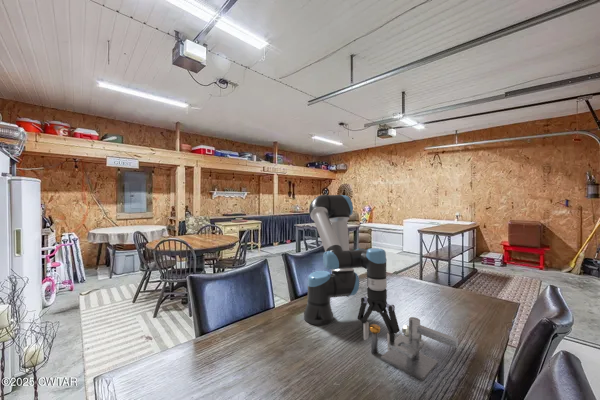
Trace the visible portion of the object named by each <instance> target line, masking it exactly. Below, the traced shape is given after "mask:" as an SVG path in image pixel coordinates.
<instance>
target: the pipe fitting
mask: <svg viewBox="0 0 600 400" xmlns="http://www.w3.org/2000/svg"><path fill="white" fill-rule="evenodd" d="M402 333H404V336H406V337H408V338H409V325H406V324H404V325H403V326H402ZM422 337H423V335H421V334H420V341H421V340H422Z"/></svg>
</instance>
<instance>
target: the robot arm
mask: <svg viewBox="0 0 600 400" xmlns="http://www.w3.org/2000/svg"><path fill="white" fill-rule="evenodd" d="M308 212H309V216H310V218H311V220H312V221H313V222H314V224H315V227H316V231H317V233H318V236H319V237H320V240H321V241H320V242H321V243H322V246H323V250H324V252H323V254H322V255H323V256H322V263H323V266H324V269H326V270H317V271H313V272H311V273H310V274H308V276H307V303H306V306H305V308H304V309H305V310H304V313H303V320H304V321H306V323H308V324H311V325H315V326H326V325H329V324H330V323H332V322H333V321H334V312H333V311H332V310H333V309H332V306H331V299H332V298H340V297H346V298H347V297H348V298H349V297H352V296H355V295H356V294H357V293H358V291H359V289H360V279H359V275H358V273H357V272H355V269H359V268H364V270H366V286H367V289H366V292H367V293H366V296H367V297H366V296H363V297H361V298H360V307H359V311H358V315H357V319H358V321H361V330H362V331H363V340H364V341H366V340H368V339H369V338H370V330H369V327H370V323H369V321H368V320H369V317H370V316H371V314H372V312H377V313H378V314H379V315H380V316H381V318H382V320H383V321H384V323H385V325H386V328H387V331H388V332H386V335H387V337H386V338H387V339H386V340H387V341H386V342H387V345H386V346H387V351H390V350H391V348H389V347H388V344H389V343H390V342H393V341H394V340H395V338H396V334H397V333H399V332H400V326H399V323H398V320H397V316H396V310H395V305H394V304H389V303H388V302H387V299H388V298H387V297H388V291H387V287H388V286H387V254H386V250H385V249H383V248H378V247H377V248H375V247H373V248H372V247H371V248H368V249H365V248H356V249H354V250H350V240H349V239H350V238H349V230H348V229H349V228H348V221H349V220H350V219H351V218H350V217H351V216H352V215H353V212H354V205H353V201H352V199H351V197H349V196H348V195H343V194H320V195H318V196H316V197H315V198H313V200H312V201H311V203H310V204H309V208H308ZM327 270H331V272H330V271H327ZM367 304H368V307H367ZM366 307H367V310H366Z"/></svg>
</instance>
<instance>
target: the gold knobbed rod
mask: <svg viewBox="0 0 600 400" xmlns="http://www.w3.org/2000/svg"><path fill="white" fill-rule="evenodd" d="M369 332H371V346H370V348H371V349H370V351H371V354H373V355H378V349H379V348H378V347H379V346H378V344H379V343H378V341H379V340H378V339H379V334H380V333H381V326H380V325H379V324H375V323H374V324H369Z"/></svg>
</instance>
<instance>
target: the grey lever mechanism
mask: <svg viewBox="0 0 600 400" xmlns="http://www.w3.org/2000/svg"><path fill="white" fill-rule="evenodd" d="M408 326H409V338H408V337H406V336H405V335H403V334H399V335H398V336H396V337H395V340H394V341H393V342H390V343H389V344H388V345H387V348H388V347H389V348H391V350H390V351H389V350H387V351H386V352H384V353H383V354H382V355H381V356H380V360H382V361H383V362H385V363H387V364H389V365H391V366H393V367H395V368H396V369H399V370H400V371H402V372H404V373H406V374H408V375H409V376H412V377H414V378H415V379H418V380H419V381H420V382H424V381H425V380H426V379H427V377H429V375H430V374H431V373H432V372H433V371H434V369H436V367H437V366H438V365H439V360H437V359H435V358H432V357H430V356H427V355H425V354H423V353H422V352H420V351H422V350H423V349H424V348H425V347H424V346H425V344H424V343H422V342H421V340H420V334H421V335H422V336H424V337H426V338H429V339H430V340H434V341H437V342H439V343H441V344H444V345H447V346H449V347H452V348H454V349H457V348H458V347H459V338H457V337H454V336H452V335H449V334H446V333H443V332H440V331H438V330H436V329H433V328H430V327H427V326H425V325H422V324H421V319H419V318H418V317H414V316H412V317H409V318H408Z"/></svg>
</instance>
